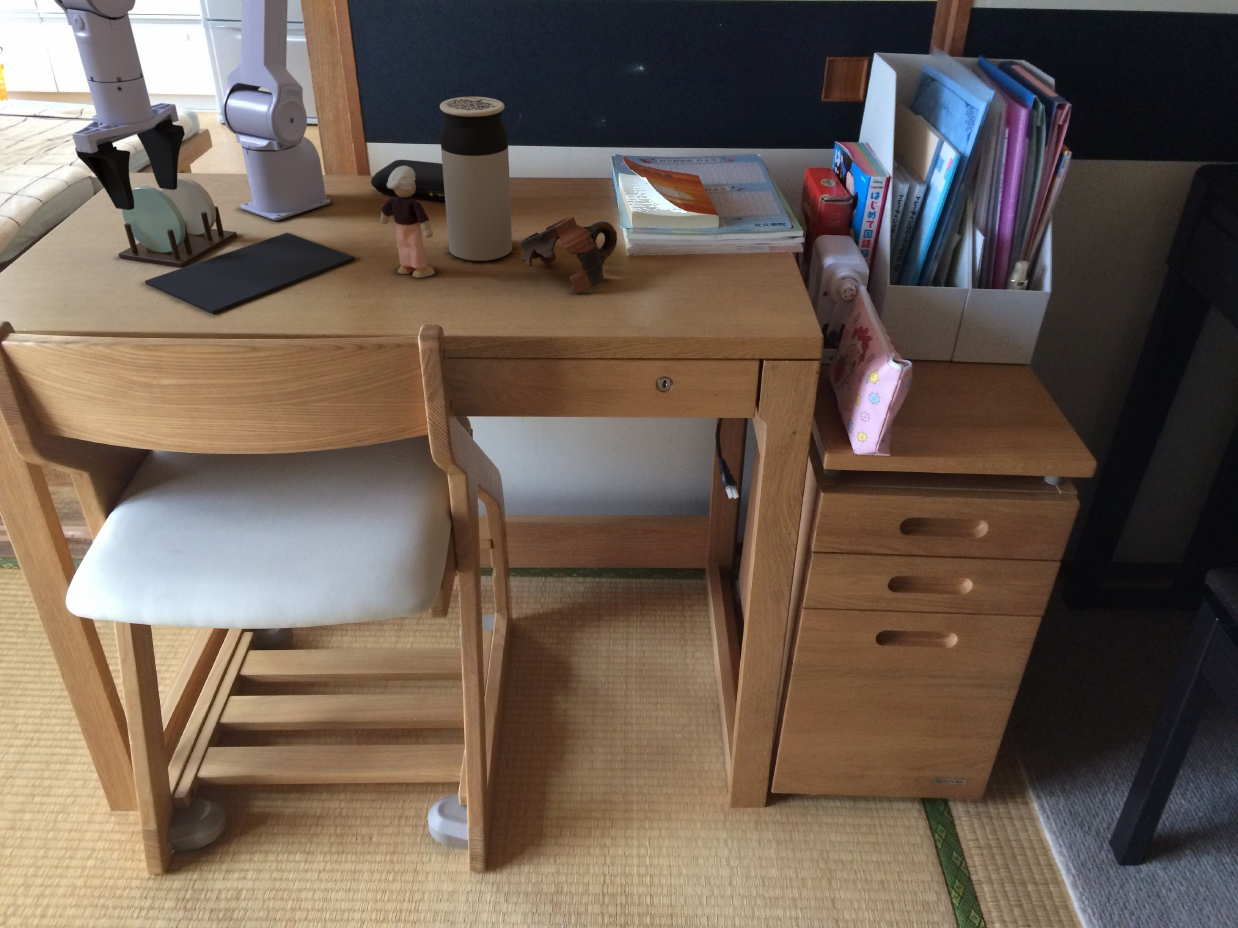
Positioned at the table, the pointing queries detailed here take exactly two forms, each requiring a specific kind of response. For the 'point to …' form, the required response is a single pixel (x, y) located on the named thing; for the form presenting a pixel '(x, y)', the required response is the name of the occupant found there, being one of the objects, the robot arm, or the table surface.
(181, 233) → the pale green plate
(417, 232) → the grandmother figurine
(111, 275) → the table surface
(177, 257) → the plate rack
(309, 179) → the robot arm
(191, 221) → the cream saucer
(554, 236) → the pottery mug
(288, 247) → the charcoal mat
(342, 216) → the table surface
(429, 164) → the carrying case
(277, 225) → the table surface
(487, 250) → the travel mug
